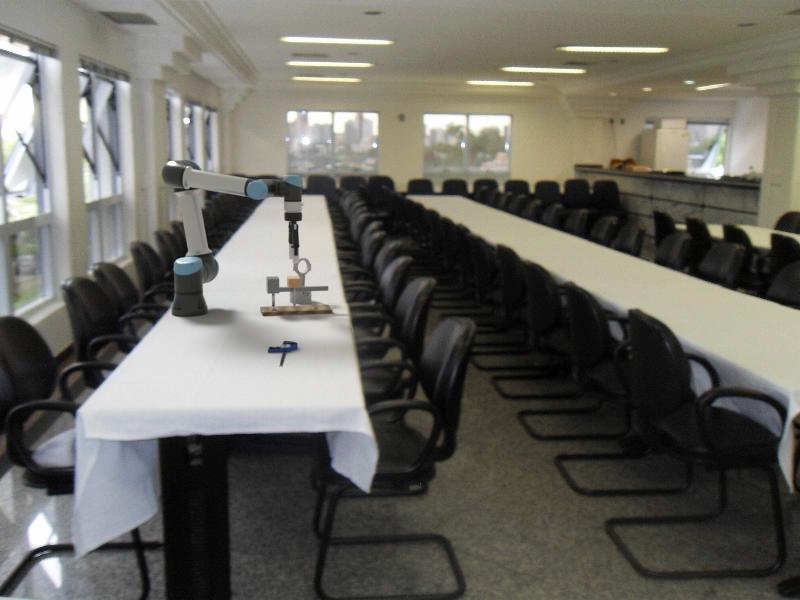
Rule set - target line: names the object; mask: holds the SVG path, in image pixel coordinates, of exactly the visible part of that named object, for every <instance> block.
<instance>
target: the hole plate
mask: <svg viewBox="0 0 800 600" xmlns="http://www.w3.org/2000/svg"><path fill="white" fill-rule="evenodd" d="M260 313H261V316H262V317H263V316H267V315H268V316H289V315H290V316H292V315H294V316H295V315H321V314H322V315H323V314H324V315H326V314H328V315H329V314H333V308H332V307H331V306H330V305H329V304H310V305H307V304H306V305H305V304H304V305H303V304H300V305H295V308H294V305H275V306H274V310H273V306H272V305H271V306H270V305H269V306H260Z"/></svg>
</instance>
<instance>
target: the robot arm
mask: <svg viewBox="0 0 800 600" xmlns="http://www.w3.org/2000/svg"><path fill="white" fill-rule="evenodd" d="M160 176H161V180H162V181H163V183H164V184H165V185H166V186H168V187H169V188H173V193H174V195H176V196H177V197H178V202H179V206H180V212H181V218H182V223H183V229H184V233H185V240H186V246H187V253H185V256H184V257H180V258H177V259H176V260H175V261H174V263H173V276H174V279H173V280H174V298H173V302H172V305H171V308H170V309H171V313H170V314H172V315H173V316H178V317H193V316H194V317H197V316H202V315H206V314H207V313H209V306H208V304H207V302H206V299H205V295H204V285H205V284H208V283H210V282H212V281H213V280H215V279H216V278H217V277H218V275H219V273H220V265H219V262H218V260H217V259H216V258H215V257H214V254H213V250H211V249H210V248H209V245H208V239H207V234H206V228H205V227H206V226H205V222H204V218H203V217H204V216H203V211H202V207H201V201H200V200H201V199H200V196H199V195H200V194H199V193H200V192H201V191H202V190H204V191H210V192H216V193H217V192H218V193H223V194H229V195H236V196H239V197H240V196H241V197H247V198H250V199H252V200H259V201H260V200H263V199H268V198H283V211H284V215H283V217H284V221H285V222H288V225H287V229H288V240H287V241H288V259H289V260H292V264H294V263H299V264H300V262H299V258H300V237H299V233H300V232H299V224H298V222H301V221H303V213H302V212H301V211H302V210H303V206H304V203H303V202H302V200H303V199H302V195H303V194H302V193H303V192H302V189H303V188H302V187H303V185H302V178H301V175H300V174H285V175H283V178H281V179H273V178H272V179H269V178H264V179H263V178H262V179H253V178H247V177H240V176H235V175H230V174H223V173H217V172H213V171H206V170H203V169H202V168H201V166H200V165H199V164H198V163H197V162H195V161H193V160H189V159H182V160H181V159H180V160H179V159H178V160H177V159H176V160H170V161H168V162H166V163H165V164H164V165H163V166H162V169H161V175H160Z"/></svg>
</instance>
